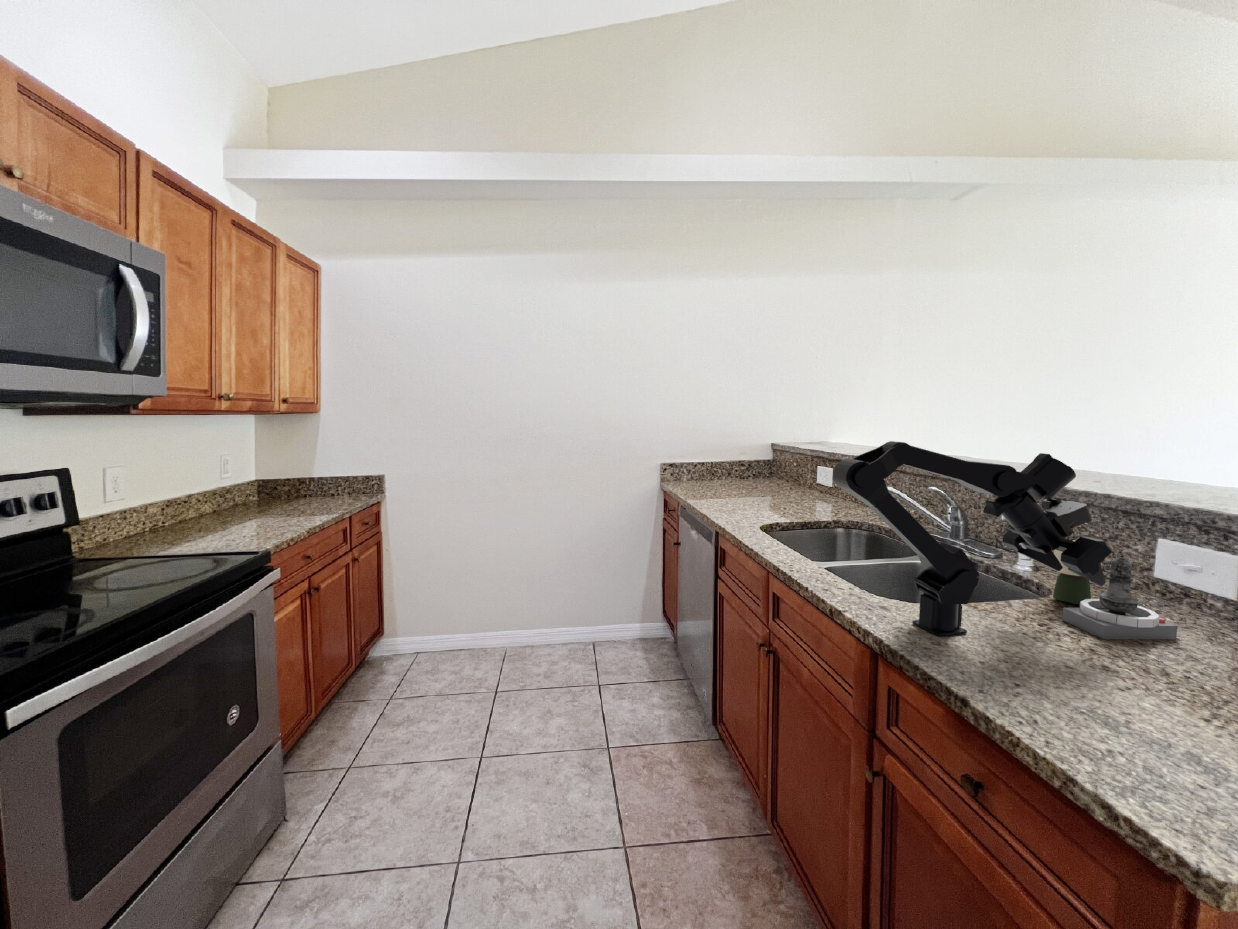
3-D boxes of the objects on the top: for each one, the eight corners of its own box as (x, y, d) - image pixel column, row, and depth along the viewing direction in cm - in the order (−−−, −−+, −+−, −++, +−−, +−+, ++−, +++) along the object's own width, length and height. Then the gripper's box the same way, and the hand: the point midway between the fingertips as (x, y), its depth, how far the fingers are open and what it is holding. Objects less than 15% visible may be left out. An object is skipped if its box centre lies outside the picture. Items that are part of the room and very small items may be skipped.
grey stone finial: (1088, 613, 102) (1094, 551, 101) (1106, 609, 104) (1112, 548, 103) (1127, 624, 96) (1133, 559, 95) (1145, 619, 98) (1151, 555, 97)
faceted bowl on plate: (1107, 641, 95) (1109, 619, 95) (1059, 618, 105) (1060, 598, 105) (1180, 641, 95) (1182, 619, 95) (1124, 618, 105) (1126, 599, 105)
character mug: (1097, 614, 108) (1102, 551, 107) (1052, 606, 112) (1057, 546, 111) (1090, 599, 117) (1094, 540, 116) (1048, 593, 121) (1052, 536, 120)
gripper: (1106, 494, 89) (1166, 560, 90) (1022, 480, 107) (1072, 535, 108) (1054, 539, 89) (1114, 605, 90) (979, 518, 108) (1029, 573, 109)
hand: (1080, 576), depth 99 cm, fingers open, 9 cm apart
